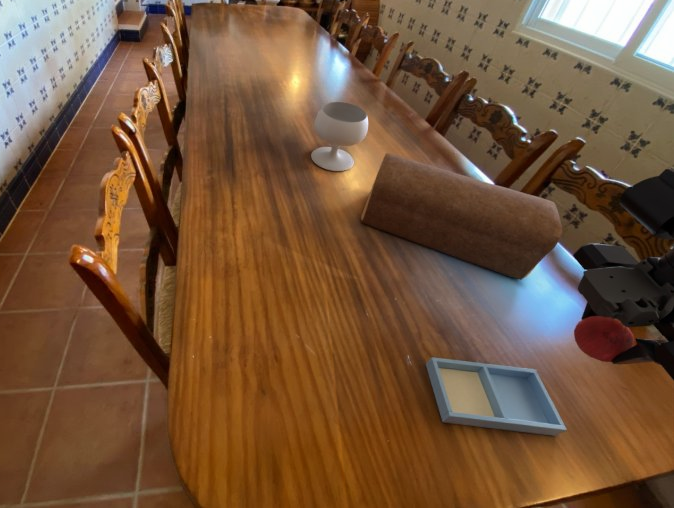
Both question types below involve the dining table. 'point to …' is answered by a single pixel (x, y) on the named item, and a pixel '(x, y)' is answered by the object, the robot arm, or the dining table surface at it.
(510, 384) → the divided blue tray
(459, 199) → the bread
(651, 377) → the dining table surface
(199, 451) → the dining table surface
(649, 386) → the dining table surface
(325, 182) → the dining table surface
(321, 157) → the chalice
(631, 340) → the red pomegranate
